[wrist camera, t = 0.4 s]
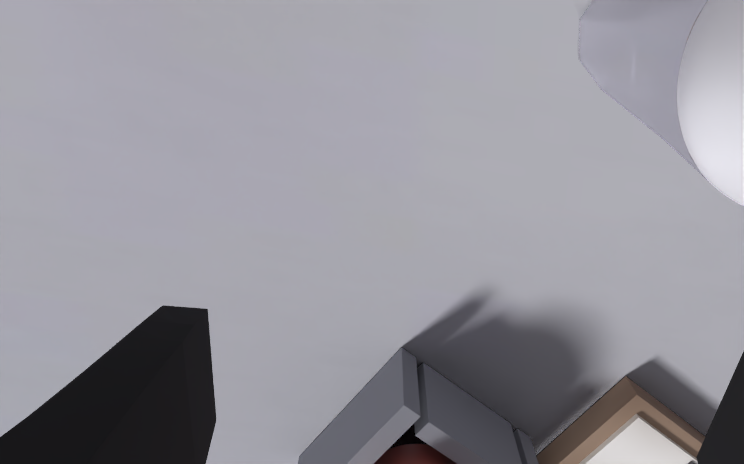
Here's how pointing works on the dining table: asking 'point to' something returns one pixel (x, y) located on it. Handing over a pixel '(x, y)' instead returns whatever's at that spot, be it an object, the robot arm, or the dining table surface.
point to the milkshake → (676, 76)
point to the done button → (413, 455)
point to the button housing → (418, 421)
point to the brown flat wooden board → (626, 433)
